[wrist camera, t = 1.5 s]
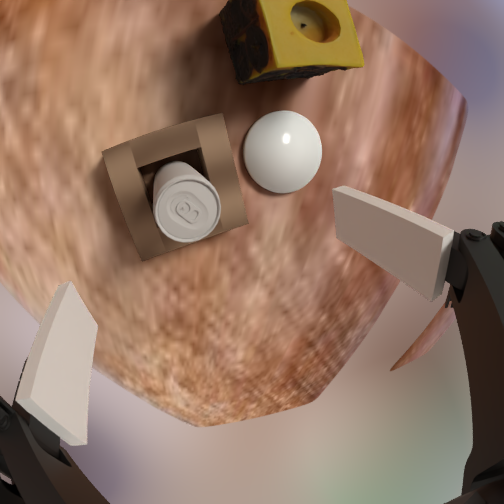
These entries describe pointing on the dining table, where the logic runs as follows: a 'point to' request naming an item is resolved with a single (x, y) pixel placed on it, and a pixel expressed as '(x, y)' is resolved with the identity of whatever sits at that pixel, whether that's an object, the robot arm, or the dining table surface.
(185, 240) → the beverage can
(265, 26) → the candle
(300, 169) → the white round domed part
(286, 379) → the dining table surface
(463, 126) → the dining table surface
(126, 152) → the socket block
